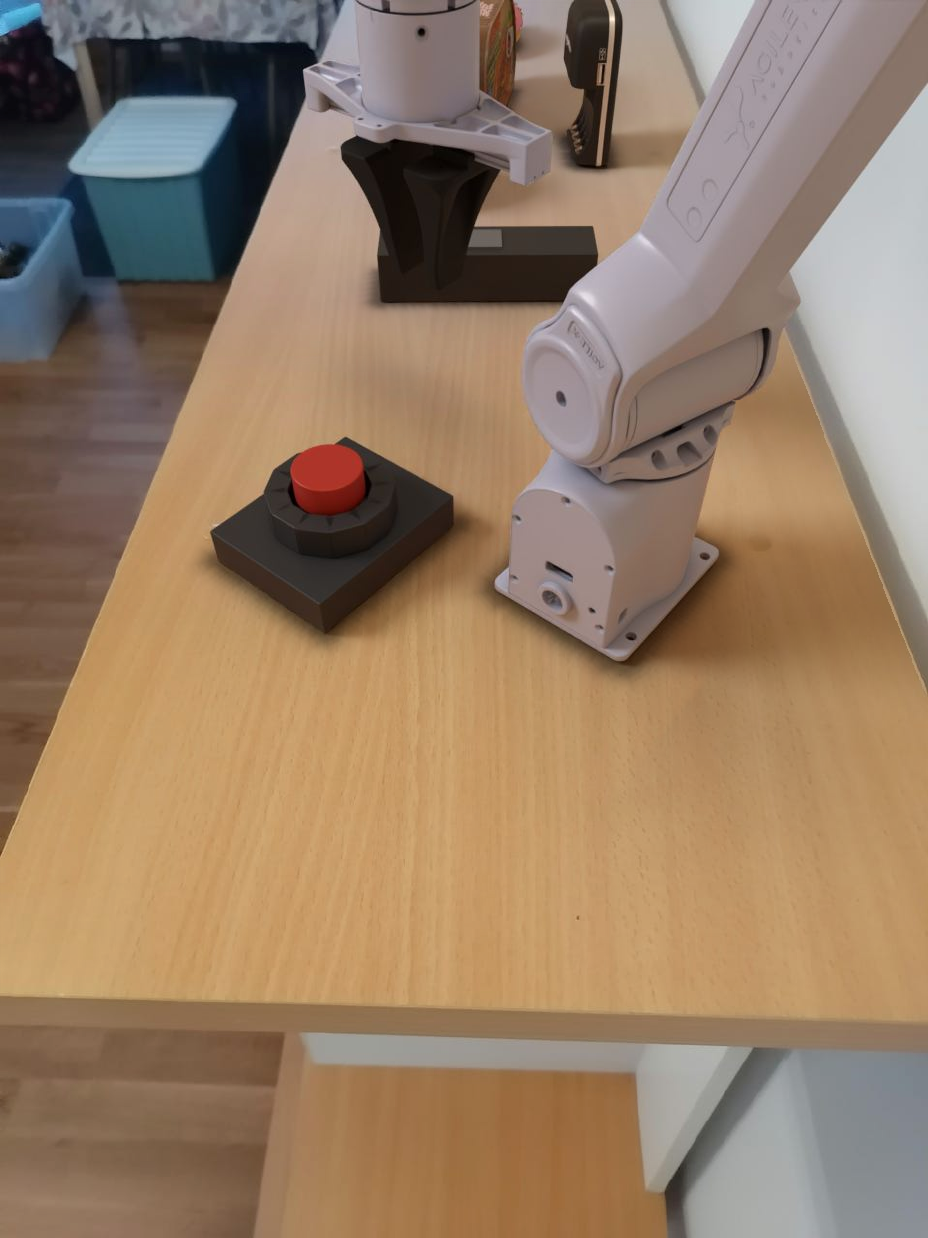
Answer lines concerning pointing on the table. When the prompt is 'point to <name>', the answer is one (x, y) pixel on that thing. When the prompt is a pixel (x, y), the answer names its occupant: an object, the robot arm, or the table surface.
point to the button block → (333, 539)
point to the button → (328, 479)
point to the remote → (502, 266)
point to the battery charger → (593, 76)
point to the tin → (497, 49)
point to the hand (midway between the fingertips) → (427, 273)
